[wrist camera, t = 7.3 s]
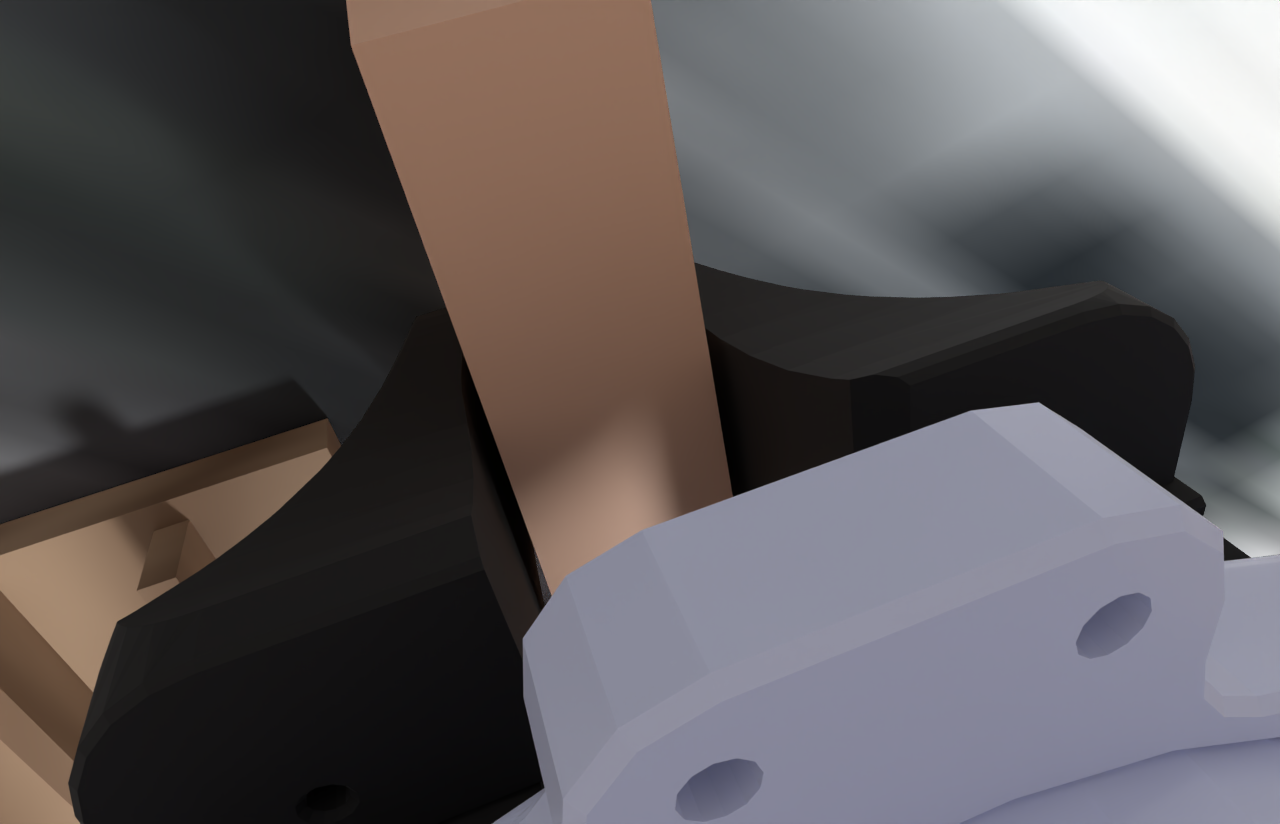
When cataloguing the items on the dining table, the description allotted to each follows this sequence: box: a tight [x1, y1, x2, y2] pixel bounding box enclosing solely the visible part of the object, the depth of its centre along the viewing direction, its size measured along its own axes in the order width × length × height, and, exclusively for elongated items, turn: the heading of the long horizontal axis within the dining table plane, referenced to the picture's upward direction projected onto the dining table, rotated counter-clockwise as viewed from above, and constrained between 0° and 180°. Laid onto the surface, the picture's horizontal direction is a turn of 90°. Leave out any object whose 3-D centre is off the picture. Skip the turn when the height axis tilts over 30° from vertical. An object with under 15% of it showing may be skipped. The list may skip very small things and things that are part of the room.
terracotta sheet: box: [346, 0, 733, 595], centre depth 12 cm, size 2×10×8 cm, turn 11°
